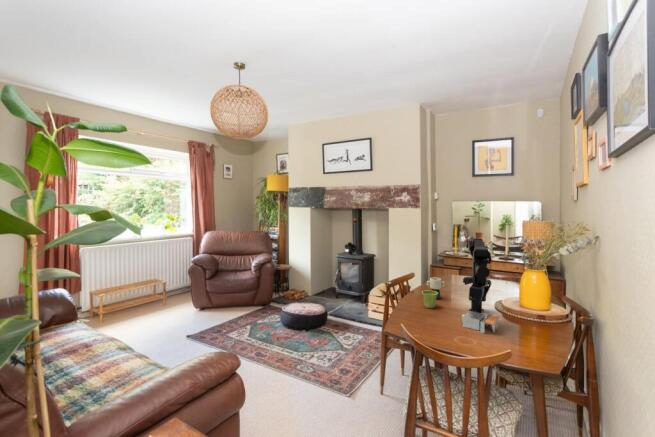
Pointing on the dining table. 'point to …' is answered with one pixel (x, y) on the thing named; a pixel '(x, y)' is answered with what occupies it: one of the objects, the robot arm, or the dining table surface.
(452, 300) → the dining table surface
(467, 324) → the block
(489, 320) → the panel
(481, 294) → the robot arm
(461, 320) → the lynch pin
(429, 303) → the plant pot
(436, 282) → the character mug
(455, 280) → the dining table surface
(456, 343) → the dining table surface
